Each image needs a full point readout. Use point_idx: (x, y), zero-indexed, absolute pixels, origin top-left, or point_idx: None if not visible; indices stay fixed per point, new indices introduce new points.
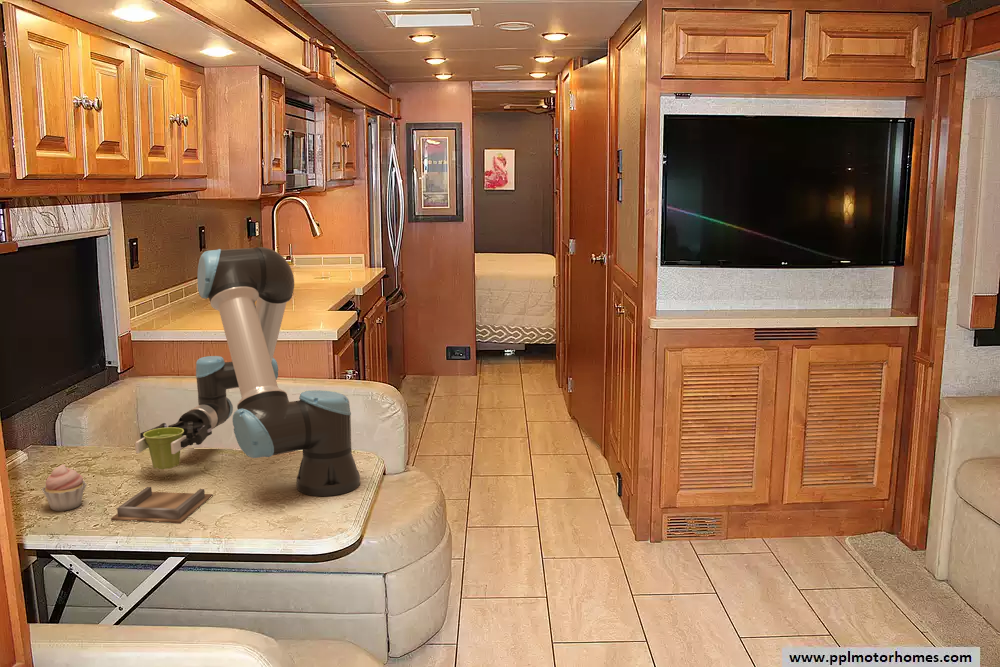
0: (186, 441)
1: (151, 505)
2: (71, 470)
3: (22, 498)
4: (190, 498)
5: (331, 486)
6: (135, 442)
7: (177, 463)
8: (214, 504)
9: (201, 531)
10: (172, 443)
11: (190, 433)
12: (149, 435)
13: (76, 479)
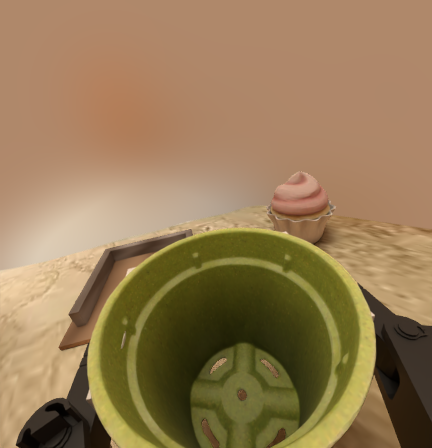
0: (87, 350)
1: None
2: (289, 186)
3: (395, 225)
4: (93, 276)
5: None
6: (285, 232)
7: (186, 404)
8: (58, 318)
9: (77, 257)
10: (133, 268)
11: (38, 413)
12: (329, 293)
13: (274, 198)
